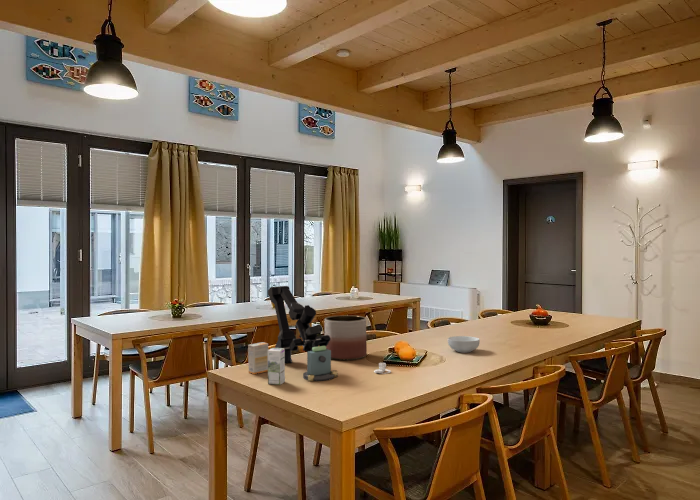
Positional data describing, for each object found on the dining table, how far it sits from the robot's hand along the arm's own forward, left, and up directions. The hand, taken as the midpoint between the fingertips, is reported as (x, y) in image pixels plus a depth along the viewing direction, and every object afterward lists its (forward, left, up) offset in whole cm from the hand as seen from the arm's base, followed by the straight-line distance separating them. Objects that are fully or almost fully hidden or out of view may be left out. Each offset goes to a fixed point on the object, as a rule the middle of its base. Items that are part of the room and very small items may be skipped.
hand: (316, 358), depth 224 cm
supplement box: (-10, -27, -8) cm, 30 cm away
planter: (-37, +16, -8) cm, 42 cm away
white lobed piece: (-4, +27, -9) cm, 29 cm away
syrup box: (+9, -18, -8) cm, 21 cm away
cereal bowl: (-41, +81, -8) cm, 92 cm away
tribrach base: (+2, +1, -8) cm, 8 cm away
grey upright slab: (+2, +1, -6) cm, 7 cm away
